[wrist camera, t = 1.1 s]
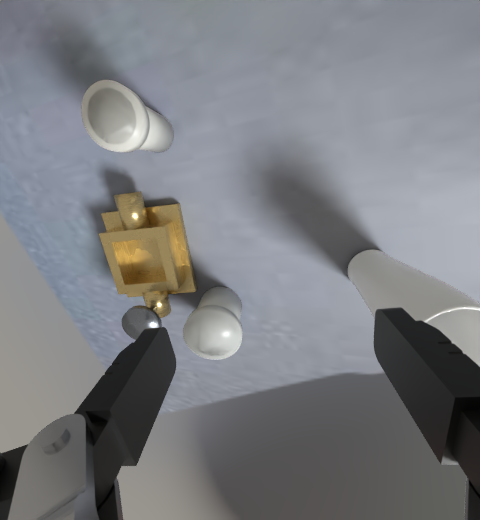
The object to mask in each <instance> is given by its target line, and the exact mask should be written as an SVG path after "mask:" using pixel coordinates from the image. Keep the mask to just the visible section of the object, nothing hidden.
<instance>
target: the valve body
mask: <svg viewBox="0 0 480 520" xmlns="http://www.w3.org/2000/svg"><path fill="white" fill-rule="evenodd" d="M113 196H114V199H115V202H116V206H117V209H118V211H112V212H105V213H101V215H102V218H103V221H104V224H105V227H106V230H107V231H105V232H102V233H99V236H100V239H101V242H102V245H103V248H104V251H105V254H106V257H107V260H108V263H109V266H110V269H111V272H112V275H113V278H114V281H115V285H116V288H117V291H118V294H127V296H128V297H137V296H143V297H144V301H145V304H146V306H134V307H132V308H130V309H129V310H128V311H127V312H126V313H125V314H124V316H123V318H122V327H123V329H124V331H125V332H126V333H127V334H128V335H129V336H130V337H131V338H133V339H135V340H137V338H138V337H139V336H140V334H141V333H142V331H143V330H144V329H148V328H160V327H161V325H162V323H161V319H160V318H162V317H165V316H167V315H168V314H169V313H170V312H171V306H170V302H169V298H168V294H174V293H187V292H196V290H197V285H196V280H195V275H194V271H193V266H192V261H191V256H190V251H189V246H188V242H187V237H186V232H185V227H184V222H183V217H182V213H181V208H180V203H176V204H168V205H160V206H152V207H145V205H144V201H143V197H142V193H141V191H140V192H132V193H125V194H118V195H113Z"/></svg>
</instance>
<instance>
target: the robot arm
mask: <svg viewBox="0 0 480 520" xmlns="http://www.w3.org/2000/svg"><path fill="white" fill-rule="evenodd" d="M374 350H375V354H376V357H377V360H378V362H379V363H380V365H381V367H382V368H383V370H384V372H385V373H386V375H387V377H388V378H389V380H390V382H391V383H392V385H393V386H394V388H395V390H396V391H397V393H398V395H399V396H400V398H401V400H402V401H403V403H404V404H405V406H406V408H407V409H408V411H409V413H410V414H411V416H412V418H413V419H414V421H415V423H416V424H417V426H418V427H419V429H420V430H421V432H422V434H423V436H424V437H425V439H426V441H427V442H428V444H429V446H430V447H431V449H432V450H433V452H434V454H435V455H436V457H437V459H438V460H439V462H440V463H441V465H460V467H461V468H462V469H463V471H464V473H465V474H466V475H467V480H466V487H465V513H464V520H480V367H479V366H478V365H477V364H476V363H475V362H474V361H473V360H472V359H471V358H470V357H468V356H467V355H466V354H463V351H462V350H461V349H460V348H458V347H457V346H456V345H455V344H452V342H451V340H450V339H449V338H447V337H446V336H445V335H444V334H443V333H442V332H441V331H440V330H439V329H437V328H435V327H433V326H431V325H429V324H427V323H425V322H424V321H422V320H420V321H415V320H414V319H413V318H412V317H411V316H410V315H409V314H408V313H407V312H406V311H405V310H404V309H403V308H401V307H397V308H385V309H377V310H376V312H375V327H374ZM175 370H176V358H175V354H174V351H173V348H172V345H171V341H170V338H169V335H168V332H167V330H166V328H164V327H160V328H148V329H144V330H143V331H142V333H141V334H140V336H139V337H138V338H137V340H136V341H135V343H131V344H130V345H129V346H128V347H126V348H125V349H124V350H123V351H121V352H120V353H119V355H118V356H117V357H116V359H115V360H114V361H113V363H112V366H110V367H109V368H108V369H107V371H106V372H105V375H103V376H102V377H101V379H100V380H99V381H98V383H97V384H96V385H95V387H94V388H93V389H92V391H91V392H90V393H89V395H88V396H87V397H86V399H85V400H84V401H83V402H82V404H81V405H80V406H79V408H78V409H77V411H76V412H75V413H74V414H70V415H66V416H63V417H61V418H59V419H57V420H55V421H53V422H52V423H50V424H49V425H47V426H46V427H45V428H44V429H43V430H41V431H40V432H39V433H38V434H37V435H36V436H35V437H34V438H33V440H32V441H31V442H30V443H29V444H28V445H25V446H22V447H19V448H16V449H13V450H10V451H7V452H4V453H0V520H123V513H122V505H121V498H120V489H119V483H118V480H117V478H116V477H117V475H118V473H119V470H120V468H121V466H136V465H137V463H138V461H139V458H140V456H141V453H142V451H143V448H144V446H145V444H146V441H147V439H148V436H149V434H150V432H151V429H152V427H153V424H154V422H155V419H156V417H157V415H158V412H159V410H160V408H161V405H162V403H163V400H164V398H165V395H166V393H167V391H168V388H169V386H170V383H171V381H172V379H173V376H174V374H175Z"/></svg>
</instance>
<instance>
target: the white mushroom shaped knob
mask: <svg viewBox="0 0 480 520" xmlns="http://www.w3.org/2000/svg"><path fill="white" fill-rule="evenodd" d="M81 114H82V119H83V123H84V126H85V128H86V130H87V132H88V134H89V135H90V136H91V138H92V139H93V140H94V141H95V142H96V143H97V144H98V145H100V146H101V147H103V148H105V149H107V150H110V151H116V152H124V153H128V152H133V151H135V150H137V149H140V150H146V151H151V152H157V153H160V152H164V151H166V150H167V149H169V147H170V146H171V144H172V142H173V138H174V133H173V128H172V126H171V124H170V122H169V121H168V120H167V119H166V118H165V117H164V116H162V115H160V114H159V113H157V112H155V111H153V110H152V109H150V108H148V107H146V106H145V105H144V103H143V101H142V100H141V99H140V98H139V96H138V95H137V94H136V93H134V92H133V91H132V90H130V89H128V88H127V87H125V86H124V85H122V84H120V83H118V82H116V81H112V80H101V81H98V82H96V83H94V84H92V85H91V86H90V87H89V88H88V89H87V91H86V92H85V94H84V97H83V100H82V105H81Z"/></svg>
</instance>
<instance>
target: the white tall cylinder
mask: <svg viewBox="0 0 480 520" xmlns="http://www.w3.org/2000/svg"><path fill="white" fill-rule="evenodd" d="M348 277H349V279H350V281H351V282H352V284H353V285H354V286H355V287H356V289H357V291H358V292H359V294H360V295H361V297H362V299H363V300H364V302H365V304H366V305H367V307H368V309H369V310H370V312H371V314H372V315H373V317H374V319H375V312H376V310H377V309H385V308H397V307H401V308H403V309H404V310H405V311H406V312H407V313H408V314H409V315H410V316H411V317H412V318H413V319H414V320H415V321H420V320H422V321H424V322H425V323H427V324H429V325H431V326H433V327H435V328H437V329H439V330H440V331H441V332H442V333H443V334H444V335H445V336H446V337H447V338H449V339H450V340H451V342H452V344H455V345H456V346H457V347H458V348H460V349H461V350H462V351H463V354H466V355H467V356H468V357H470V358H471V359H472V360H473V361H474V362H475V363H476V364H477V365H478V366H479V367H480V303H479V302H477V301H476V300H474V299H473V298H471V297H469V296H468V295H466V294H465V293H463V292H461V291H460V290H458V289H456V288H454V287H453V286H451V285H449V284H447V283H445V282H443V281H441V280H439V279H437V278H435V277H433V276H430V275H428V274H426V273H424V272H422V271H420V270H417V269H415V268H413V267H411V266H409V265H407V264H405V263H403V262H400V261H398V260H396V259H394V258H392V257H390V256H389V255H387V254H385V253H384V252H382V251H379V250H365V251H362V252H360V253H358V254H357V255H356V256H354V257H353V258H352V260H351V261H350V263H349V265H348Z"/></svg>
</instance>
